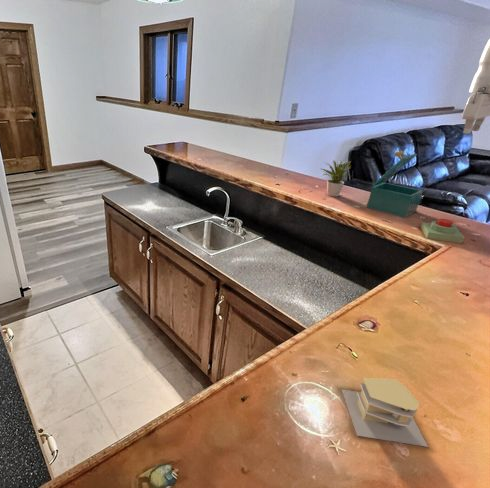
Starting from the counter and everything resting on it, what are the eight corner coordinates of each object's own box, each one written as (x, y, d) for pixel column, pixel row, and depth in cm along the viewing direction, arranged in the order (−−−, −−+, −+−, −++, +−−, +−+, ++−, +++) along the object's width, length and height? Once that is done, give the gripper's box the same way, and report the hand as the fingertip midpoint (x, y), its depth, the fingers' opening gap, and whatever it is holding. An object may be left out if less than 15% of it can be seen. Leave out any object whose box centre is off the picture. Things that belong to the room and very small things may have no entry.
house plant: (328, 187, 172) (335, 154, 165) (355, 195, 162) (364, 159, 155) (311, 192, 165) (317, 158, 158) (338, 200, 155) (346, 164, 148)
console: (453, 231, 124) (457, 221, 123) (461, 243, 116) (466, 232, 114) (420, 227, 128) (423, 217, 126) (426, 238, 120) (430, 227, 118)
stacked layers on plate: (356, 435, 54) (365, 411, 52) (341, 389, 62) (348, 366, 60) (427, 447, 53) (440, 422, 50) (402, 398, 60) (412, 374, 58)
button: (448, 224, 121) (450, 219, 121) (452, 228, 118) (454, 223, 117) (435, 222, 123) (437, 218, 122) (438, 226, 120) (440, 222, 119)
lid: (416, 154, 138) (407, 146, 140) (405, 158, 131) (395, 150, 133) (385, 182, 149) (377, 174, 151) (373, 186, 143) (364, 178, 145)
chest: (416, 211, 143) (423, 190, 139) (404, 217, 137) (411, 196, 133) (378, 201, 154) (384, 182, 150) (366, 207, 147) (372, 187, 143)
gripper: (491, 88, 104) (473, 136, 110) (508, 86, 115) (490, 130, 121) (465, 87, 108) (449, 133, 114) (484, 86, 119) (468, 128, 125)
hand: (470, 132), depth 118 cm, fingers open, 8 cm apart
